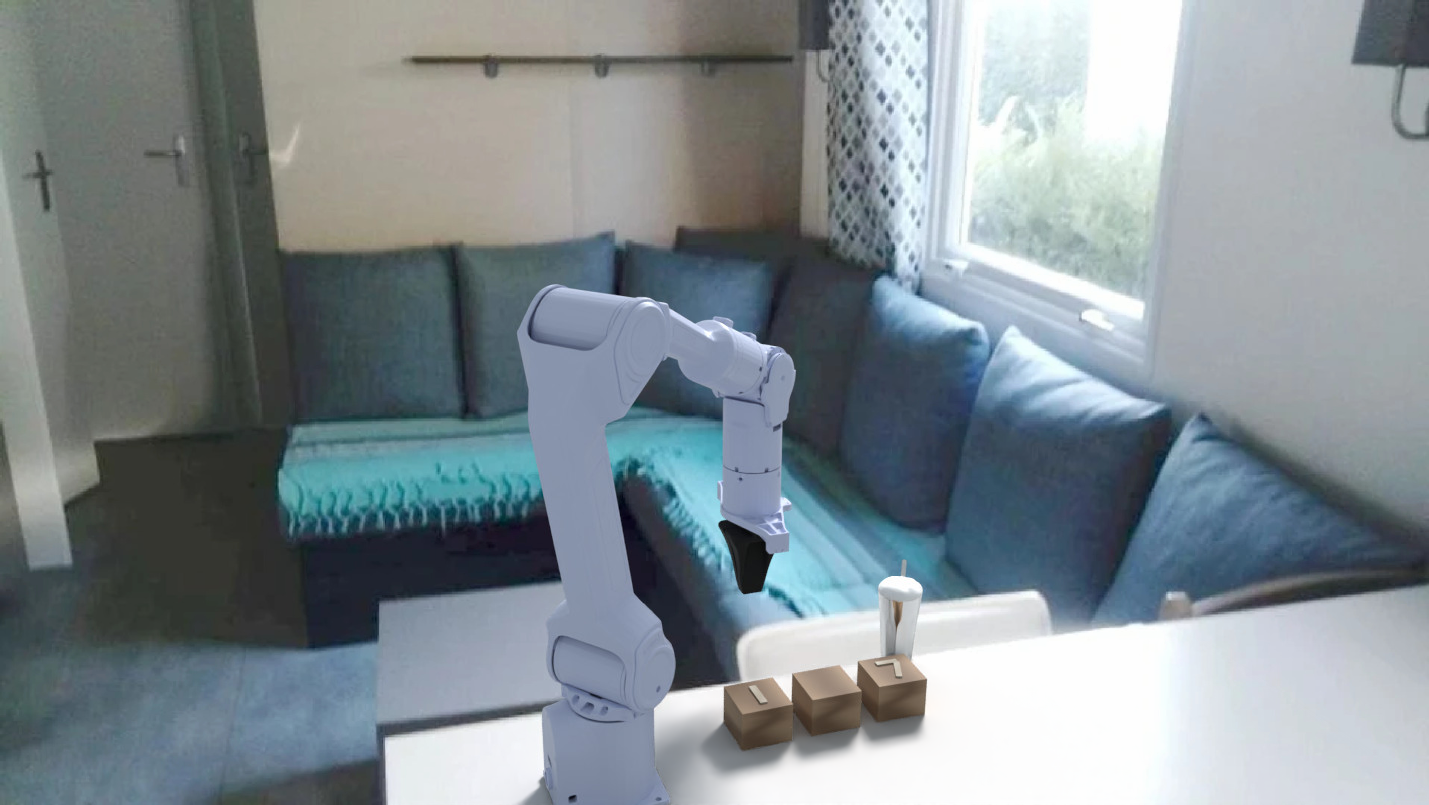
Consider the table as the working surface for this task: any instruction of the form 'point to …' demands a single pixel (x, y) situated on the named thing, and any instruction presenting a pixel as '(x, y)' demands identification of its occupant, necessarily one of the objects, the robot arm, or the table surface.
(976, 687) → the table surface
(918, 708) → the digit block seven
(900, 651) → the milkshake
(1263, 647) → the table surface
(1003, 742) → the table surface
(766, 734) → the digit block one
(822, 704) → the blank block
